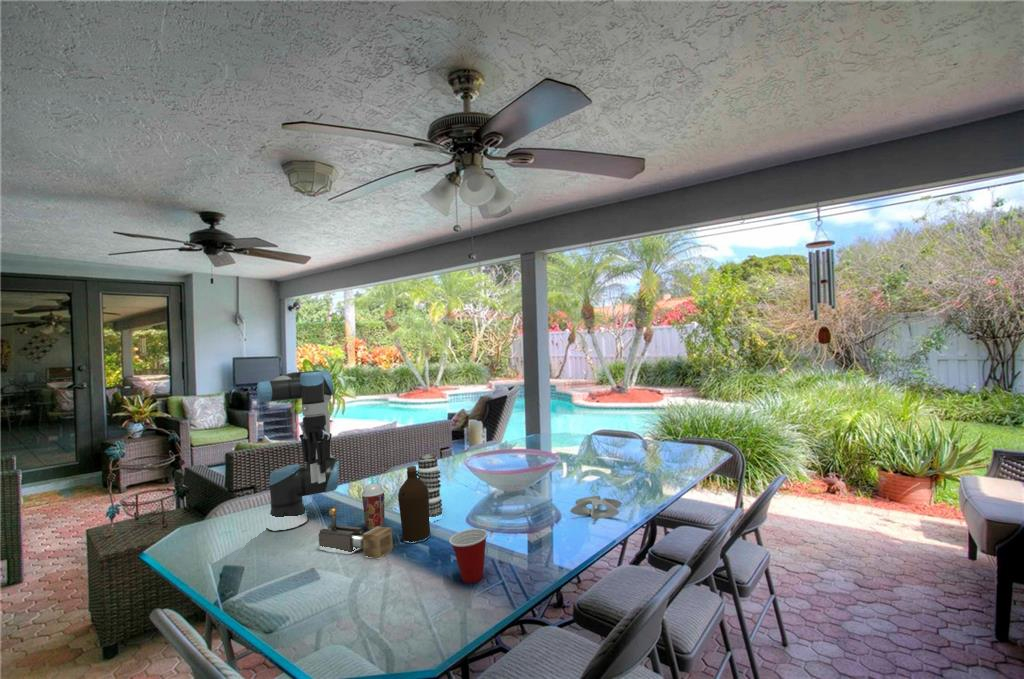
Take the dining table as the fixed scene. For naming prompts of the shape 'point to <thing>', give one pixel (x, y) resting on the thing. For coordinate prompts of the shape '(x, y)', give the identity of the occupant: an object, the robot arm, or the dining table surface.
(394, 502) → the dining table surface
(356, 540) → the ball knob lever
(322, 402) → the robot arm
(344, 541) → the outer sleeve
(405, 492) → the olive oil
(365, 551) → the socket block
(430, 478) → the decorative candle
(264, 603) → the dining table surface
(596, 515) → the sculpture
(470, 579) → the plastic cup
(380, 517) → the smoothie
